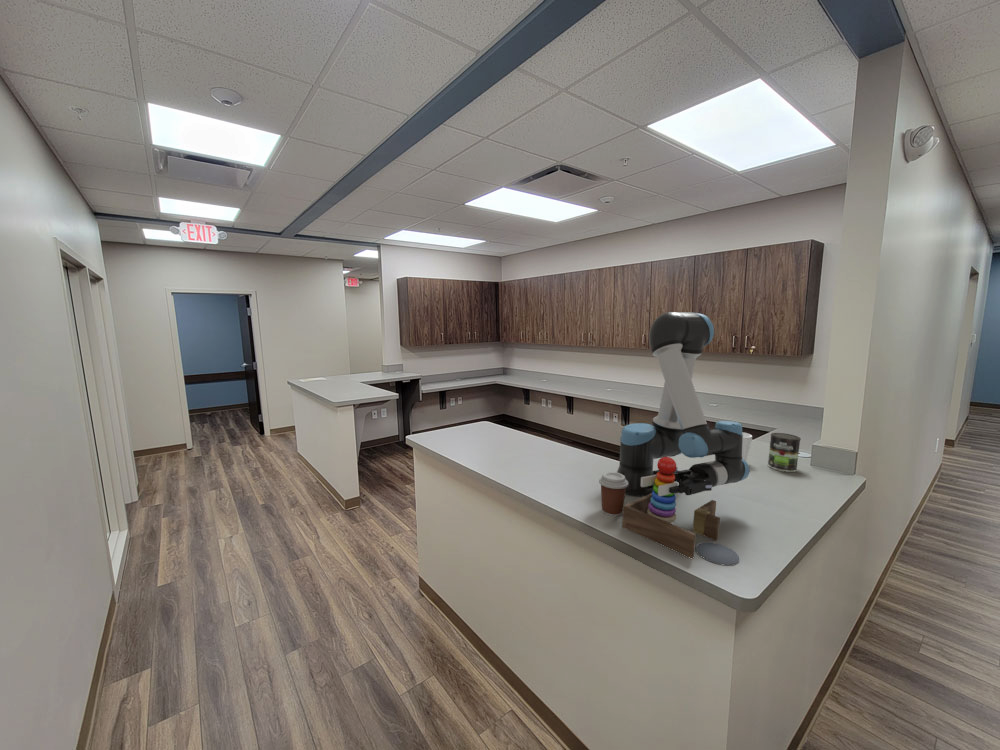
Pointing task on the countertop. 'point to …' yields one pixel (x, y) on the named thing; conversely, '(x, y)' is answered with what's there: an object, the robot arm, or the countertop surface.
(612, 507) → the coffee cup
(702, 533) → the corner post
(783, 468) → the coffee can
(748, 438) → the foam cup
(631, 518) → the brown open angular frame
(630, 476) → the robot arm
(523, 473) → the countertop surface
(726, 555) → the pad
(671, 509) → the stacking toy
